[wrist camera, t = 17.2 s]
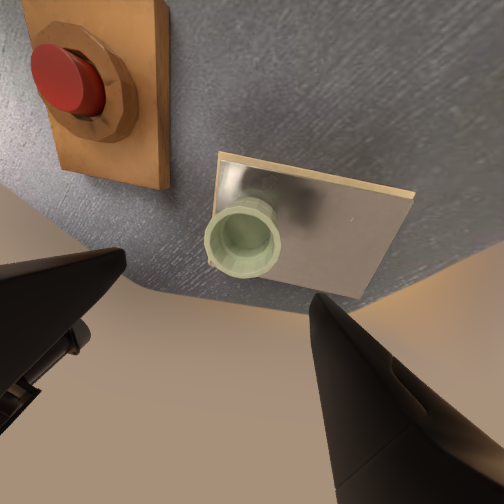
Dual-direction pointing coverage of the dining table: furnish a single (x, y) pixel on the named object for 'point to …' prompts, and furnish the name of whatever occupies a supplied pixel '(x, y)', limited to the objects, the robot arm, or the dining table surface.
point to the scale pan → (319, 226)
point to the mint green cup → (244, 238)
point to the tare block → (113, 86)
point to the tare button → (67, 81)
